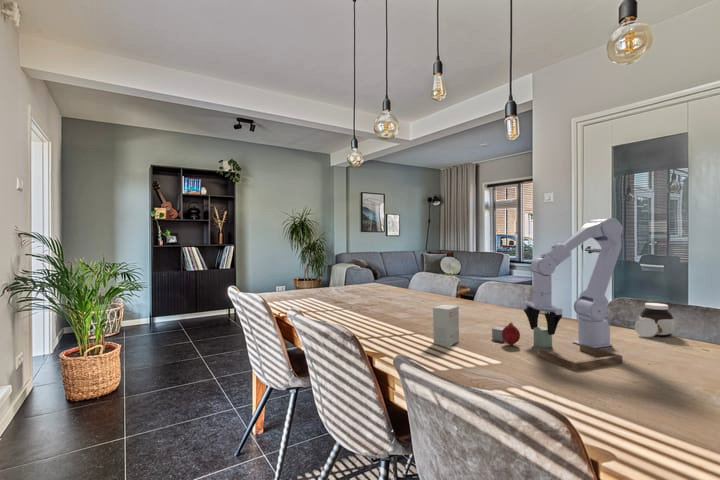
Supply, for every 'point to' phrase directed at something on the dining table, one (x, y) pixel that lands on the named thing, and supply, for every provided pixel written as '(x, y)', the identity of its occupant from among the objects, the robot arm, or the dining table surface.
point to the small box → (446, 324)
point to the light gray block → (497, 333)
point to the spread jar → (655, 321)
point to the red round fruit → (511, 334)
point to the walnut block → (604, 359)
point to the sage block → (542, 337)
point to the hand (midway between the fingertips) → (542, 331)
